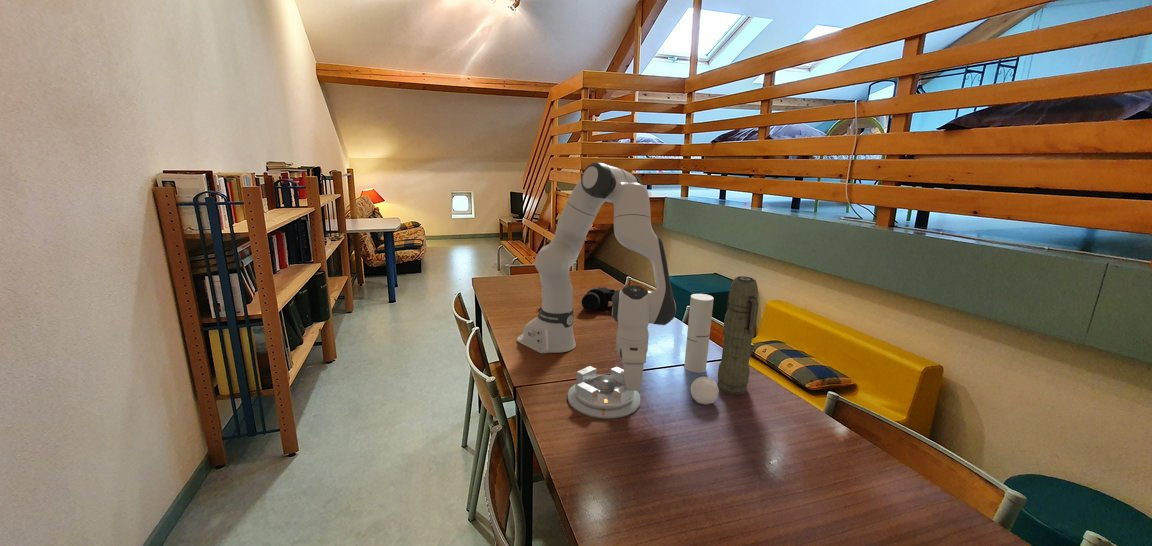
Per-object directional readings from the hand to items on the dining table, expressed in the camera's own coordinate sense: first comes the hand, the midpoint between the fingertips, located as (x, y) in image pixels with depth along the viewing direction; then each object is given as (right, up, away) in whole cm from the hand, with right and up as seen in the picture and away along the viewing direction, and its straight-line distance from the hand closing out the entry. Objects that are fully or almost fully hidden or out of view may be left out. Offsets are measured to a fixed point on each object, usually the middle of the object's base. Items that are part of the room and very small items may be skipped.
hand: (629, 388), depth 131 cm
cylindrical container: (+25, +1, +23) cm, 34 cm away
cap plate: (-7, -3, +2) cm, 8 cm away
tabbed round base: (-7, -2, +2) cm, 8 cm away
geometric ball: (+22, -5, +2) cm, 22 cm away
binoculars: (+3, +16, +81) cm, 82 cm away
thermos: (+33, -2, +11) cm, 35 cm away
